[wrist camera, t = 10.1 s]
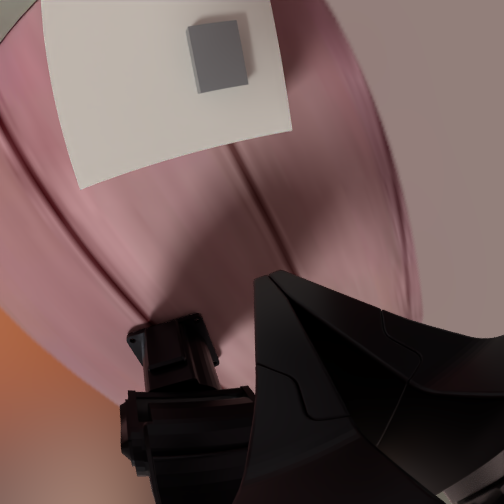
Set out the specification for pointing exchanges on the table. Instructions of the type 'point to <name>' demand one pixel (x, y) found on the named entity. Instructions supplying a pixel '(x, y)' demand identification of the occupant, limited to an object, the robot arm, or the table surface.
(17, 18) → the side door
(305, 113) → the table surface
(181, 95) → the camera case
